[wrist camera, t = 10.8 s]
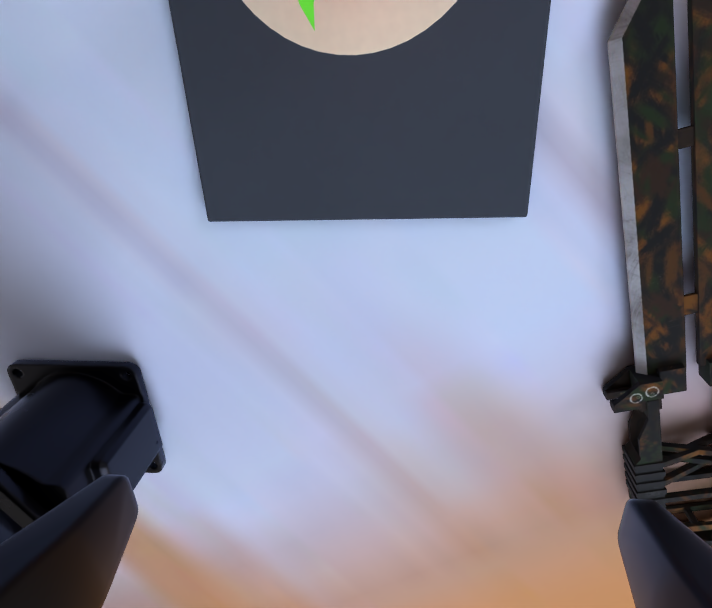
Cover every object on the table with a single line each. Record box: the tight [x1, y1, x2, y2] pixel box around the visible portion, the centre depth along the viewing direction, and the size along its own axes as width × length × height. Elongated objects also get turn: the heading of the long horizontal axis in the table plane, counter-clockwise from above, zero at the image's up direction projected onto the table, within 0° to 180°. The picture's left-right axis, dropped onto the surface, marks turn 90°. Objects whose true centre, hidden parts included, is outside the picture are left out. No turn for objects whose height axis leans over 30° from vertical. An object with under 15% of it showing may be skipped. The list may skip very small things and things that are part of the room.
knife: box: [603, 0, 712, 548], centre depth 19 cm, size 25×6×1 cm, turn 12°
